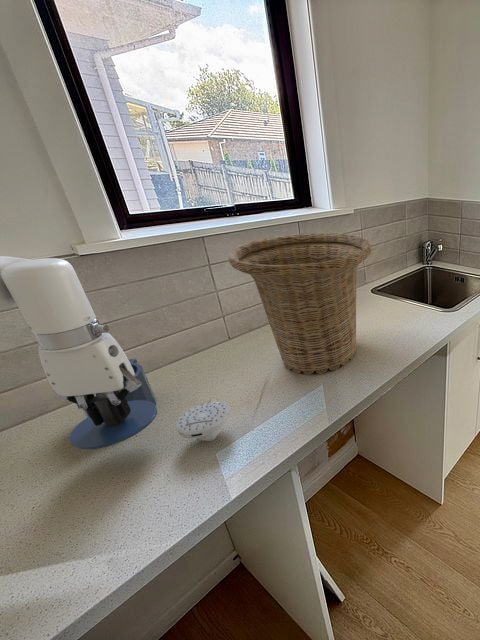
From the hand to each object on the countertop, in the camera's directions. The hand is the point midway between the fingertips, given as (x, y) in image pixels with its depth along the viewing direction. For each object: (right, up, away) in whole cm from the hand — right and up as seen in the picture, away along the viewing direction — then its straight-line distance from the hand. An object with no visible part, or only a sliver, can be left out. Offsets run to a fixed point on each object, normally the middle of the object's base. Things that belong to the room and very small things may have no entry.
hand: (113, 418), depth 63 cm
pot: (-11, -3, +15) cm, 19 cm away
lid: (0, -1, +1) cm, 1 cm away
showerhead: (+14, -7, +8) cm, 17 cm away
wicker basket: (+27, +8, +38) cm, 48 cm away
